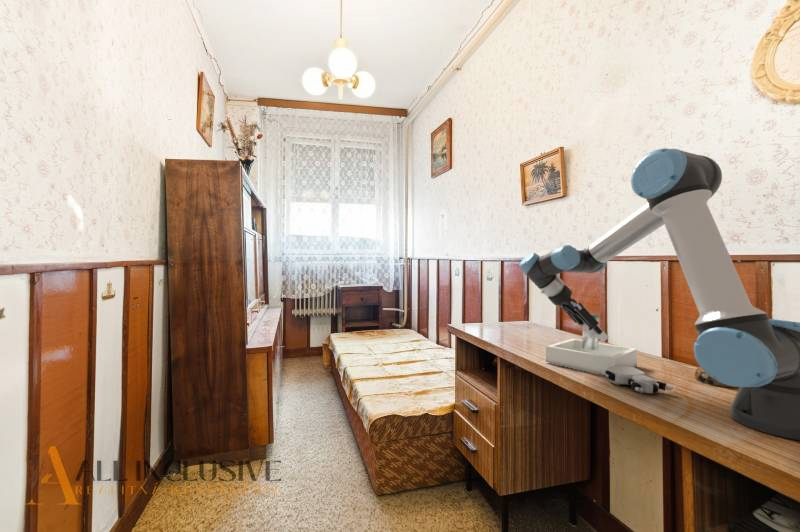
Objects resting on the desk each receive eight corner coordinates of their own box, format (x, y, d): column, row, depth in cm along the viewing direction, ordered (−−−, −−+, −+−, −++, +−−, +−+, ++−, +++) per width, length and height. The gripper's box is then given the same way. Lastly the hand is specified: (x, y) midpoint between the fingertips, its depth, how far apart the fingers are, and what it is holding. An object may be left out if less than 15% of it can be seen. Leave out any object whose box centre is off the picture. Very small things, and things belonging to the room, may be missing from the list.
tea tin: (595, 350, 124) (596, 315, 124) (579, 348, 128) (580, 314, 128) (600, 348, 127) (601, 314, 127) (585, 346, 131) (586, 313, 131)
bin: (614, 378, 111) (615, 358, 111) (545, 363, 128) (546, 346, 128) (636, 366, 126) (637, 348, 126) (572, 353, 142) (572, 338, 143)
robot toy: (676, 399, 97) (630, 378, 112) (677, 382, 96) (631, 363, 111) (636, 401, 95) (595, 379, 109) (638, 384, 94) (596, 364, 109)
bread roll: (740, 401, 103) (755, 377, 103) (703, 383, 105) (717, 359, 105) (717, 390, 113) (730, 368, 112) (684, 374, 115) (696, 351, 114)
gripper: (537, 295, 136) (579, 340, 136) (560, 300, 118) (608, 351, 118) (551, 281, 136) (593, 326, 137) (576, 284, 118) (625, 335, 119)
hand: (600, 337), depth 128 cm, fingers closed on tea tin, 5 cm apart
